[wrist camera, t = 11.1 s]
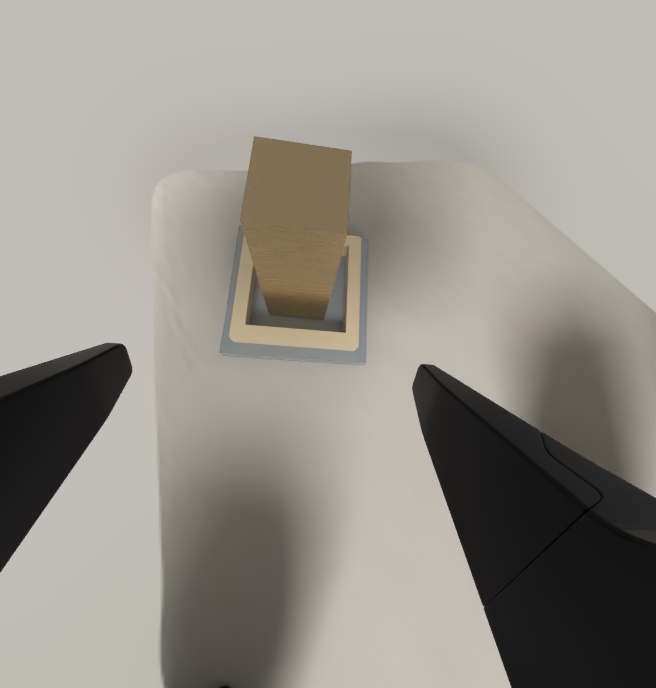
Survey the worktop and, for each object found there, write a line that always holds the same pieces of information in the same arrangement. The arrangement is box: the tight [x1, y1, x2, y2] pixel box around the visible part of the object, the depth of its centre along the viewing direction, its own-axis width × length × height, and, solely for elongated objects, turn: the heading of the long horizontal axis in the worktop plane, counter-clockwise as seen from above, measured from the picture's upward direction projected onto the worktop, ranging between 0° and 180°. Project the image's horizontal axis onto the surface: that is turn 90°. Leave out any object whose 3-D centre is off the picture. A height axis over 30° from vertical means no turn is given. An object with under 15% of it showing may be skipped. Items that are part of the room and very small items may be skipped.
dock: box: [220, 225, 368, 365], centre depth 22 cm, size 11×11×2 cm
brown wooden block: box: [240, 137, 352, 320], centre depth 17 cm, size 4×4×11 cm
